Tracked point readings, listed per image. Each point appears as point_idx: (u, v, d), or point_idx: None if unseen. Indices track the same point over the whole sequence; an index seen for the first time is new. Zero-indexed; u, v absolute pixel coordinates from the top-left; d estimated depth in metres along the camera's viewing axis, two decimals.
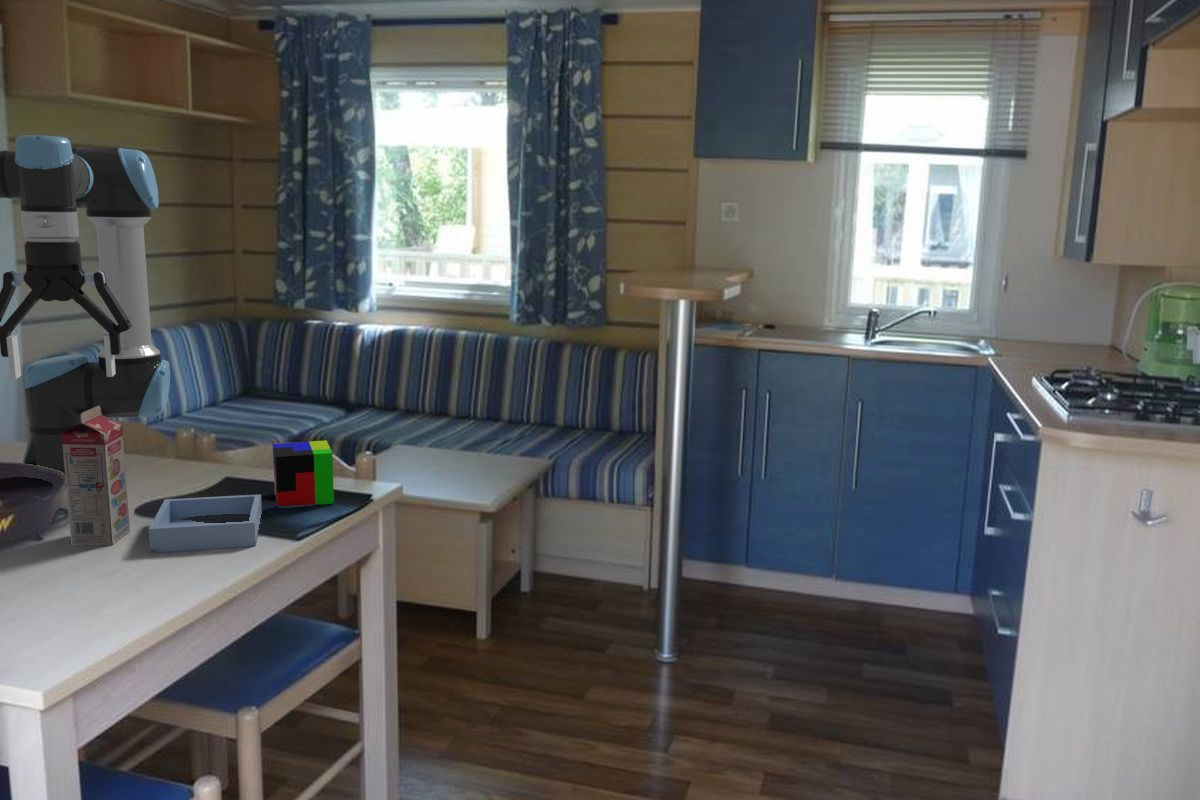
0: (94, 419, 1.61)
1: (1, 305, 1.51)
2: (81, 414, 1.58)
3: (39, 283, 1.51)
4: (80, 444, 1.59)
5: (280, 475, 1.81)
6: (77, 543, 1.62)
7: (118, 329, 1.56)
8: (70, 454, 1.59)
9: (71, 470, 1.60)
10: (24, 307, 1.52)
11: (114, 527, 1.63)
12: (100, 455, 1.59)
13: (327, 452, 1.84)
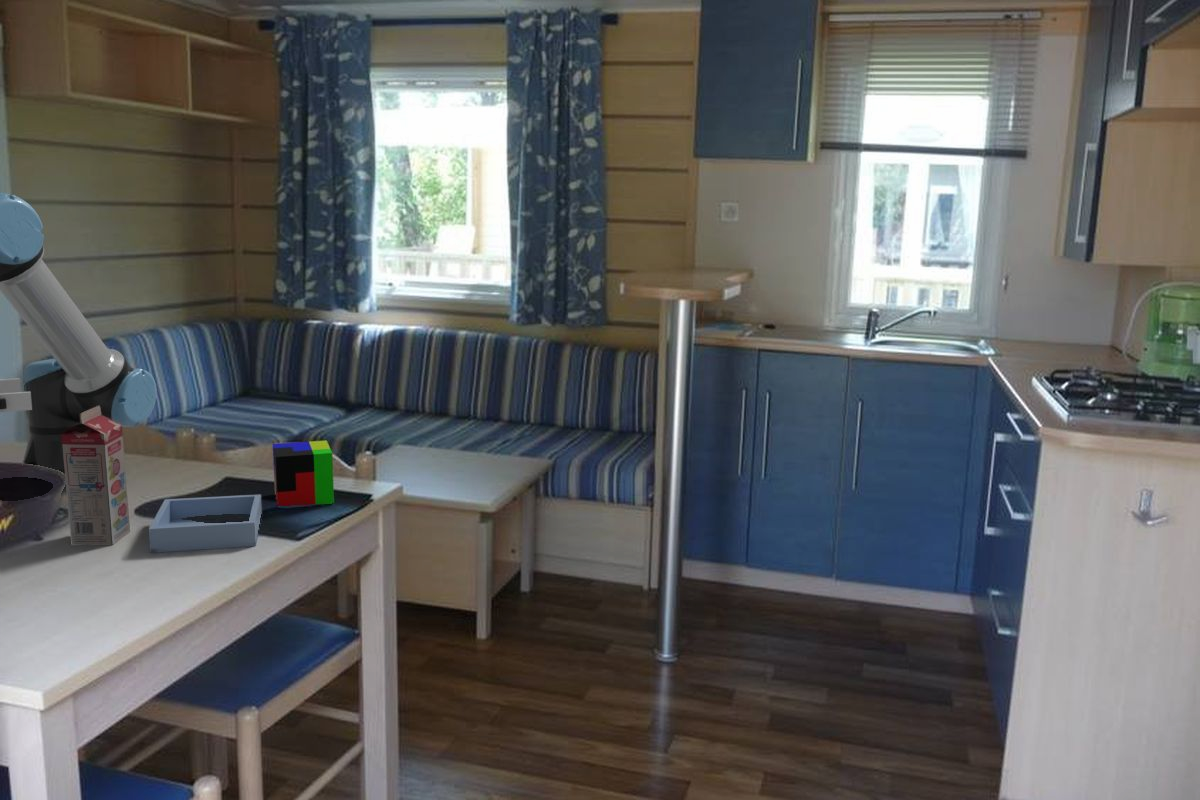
0: (94, 419, 1.61)
1: None
2: (81, 414, 1.58)
3: None
4: (80, 444, 1.59)
5: (280, 475, 1.81)
6: (77, 543, 1.62)
7: None
8: (70, 454, 1.59)
9: (71, 470, 1.60)
10: None
11: (114, 527, 1.63)
12: (100, 455, 1.59)
13: (327, 452, 1.84)
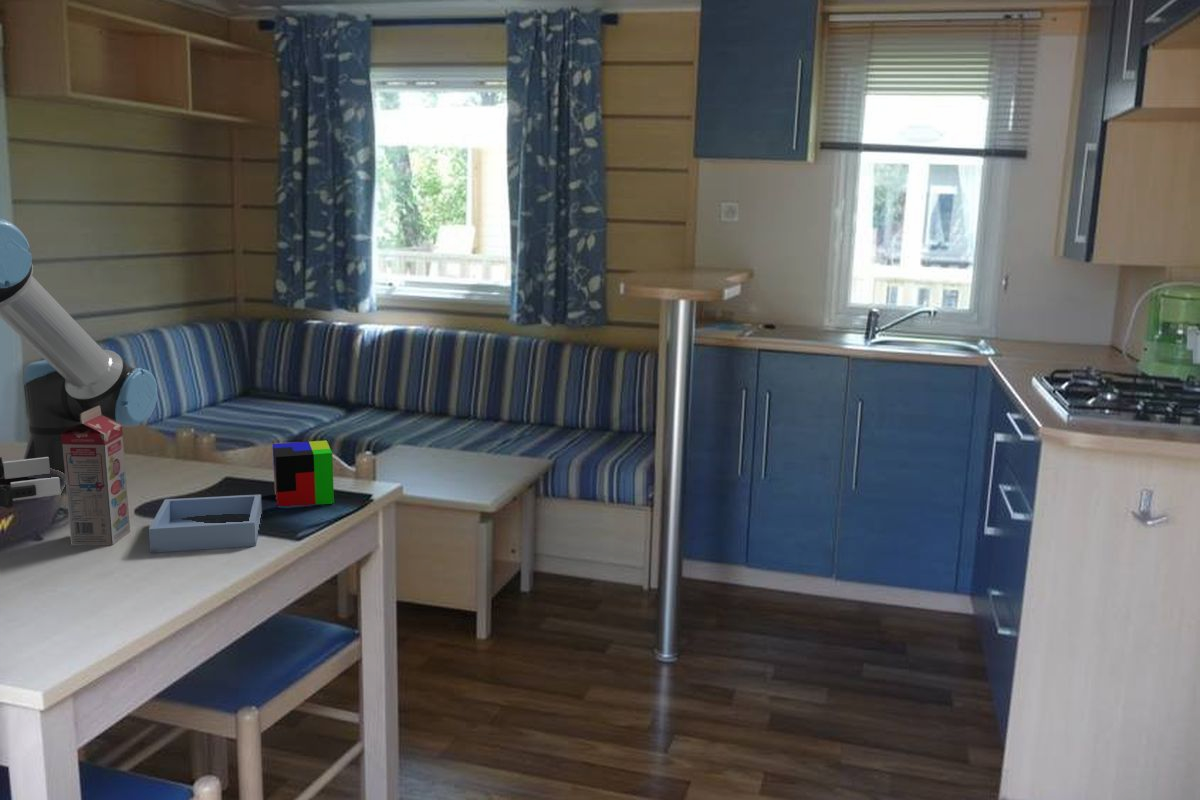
0: (94, 419, 1.61)
1: None
2: (81, 414, 1.58)
3: None
4: (80, 444, 1.59)
5: (280, 475, 1.81)
6: (77, 543, 1.62)
7: None
8: (70, 454, 1.59)
9: (71, 470, 1.60)
10: None
11: (114, 527, 1.63)
12: (100, 455, 1.59)
13: (327, 452, 1.84)
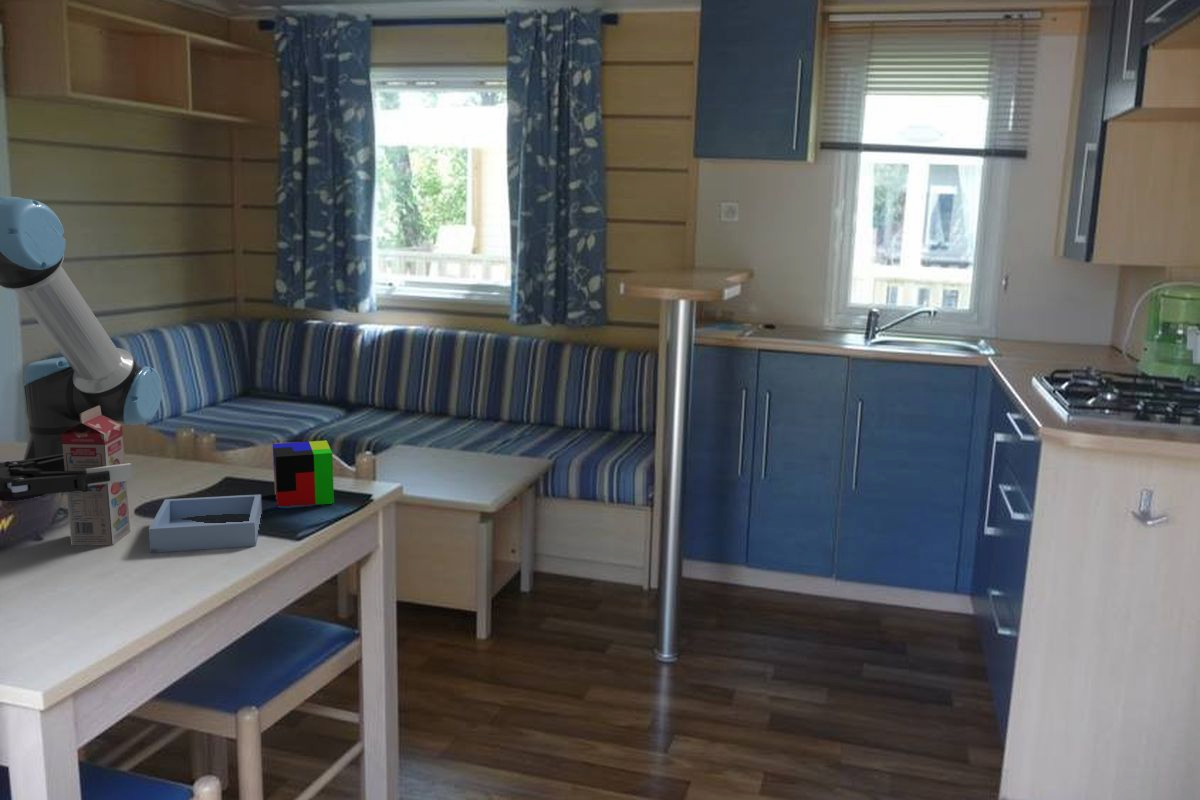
0: (94, 419, 1.61)
1: None
2: (81, 414, 1.58)
3: None
4: (80, 444, 1.59)
5: (280, 475, 1.81)
6: (77, 543, 1.62)
7: None
8: (70, 454, 1.59)
9: (71, 470, 1.60)
10: None
11: (114, 527, 1.63)
12: (100, 455, 1.59)
13: (327, 452, 1.84)
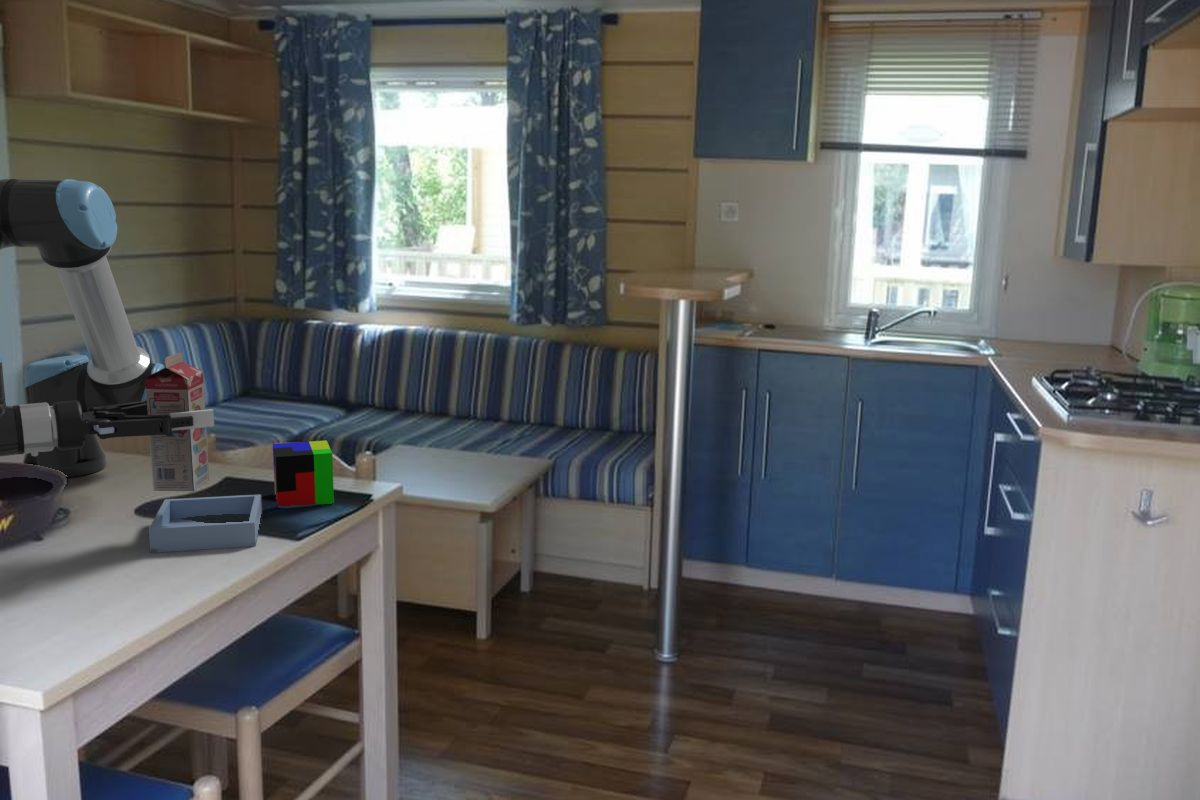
0: (176, 365, 1.61)
1: None
2: (165, 358, 1.58)
3: None
4: (163, 389, 1.59)
5: (280, 475, 1.81)
6: (159, 489, 1.62)
7: None
8: (154, 399, 1.59)
9: None
10: None
11: (195, 474, 1.63)
12: (183, 400, 1.59)
13: (327, 452, 1.84)
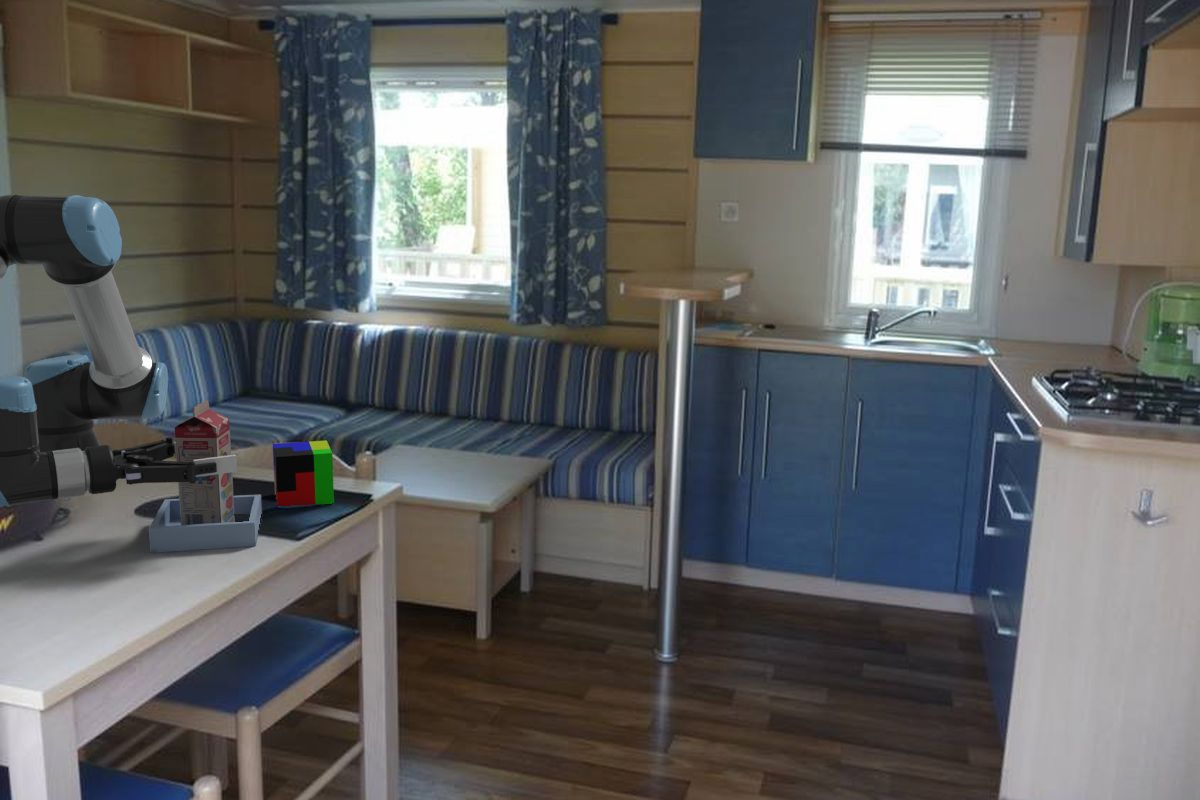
0: (204, 413, 1.65)
1: None
2: (194, 408, 1.61)
3: None
4: (192, 438, 1.62)
5: (280, 475, 1.81)
6: None
7: None
8: (183, 447, 1.62)
9: None
10: None
11: (223, 519, 1.66)
12: (212, 448, 1.63)
13: (327, 452, 1.84)
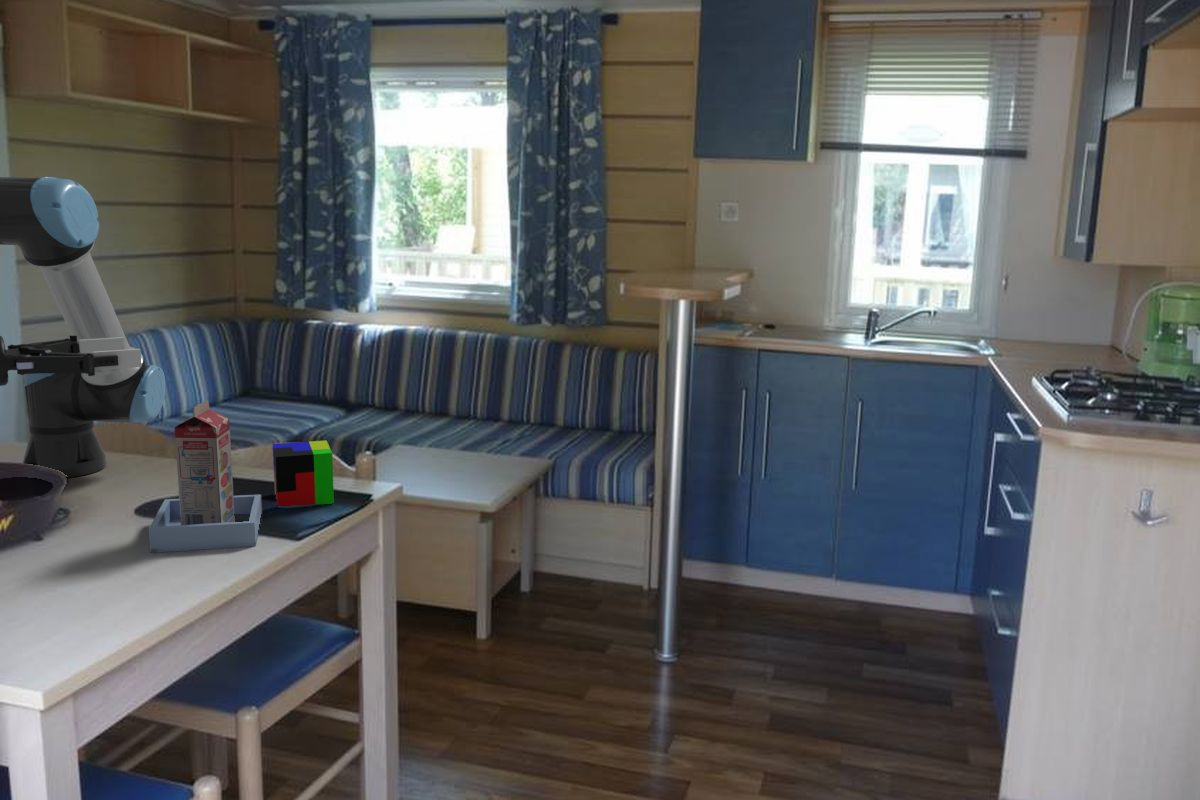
0: (204, 413, 1.65)
1: None
2: (194, 408, 1.61)
3: None
4: (192, 438, 1.62)
5: (280, 475, 1.81)
6: None
7: None
8: (183, 448, 1.62)
9: (183, 463, 1.63)
10: None
11: (223, 519, 1.66)
12: (212, 448, 1.63)
13: (327, 452, 1.84)
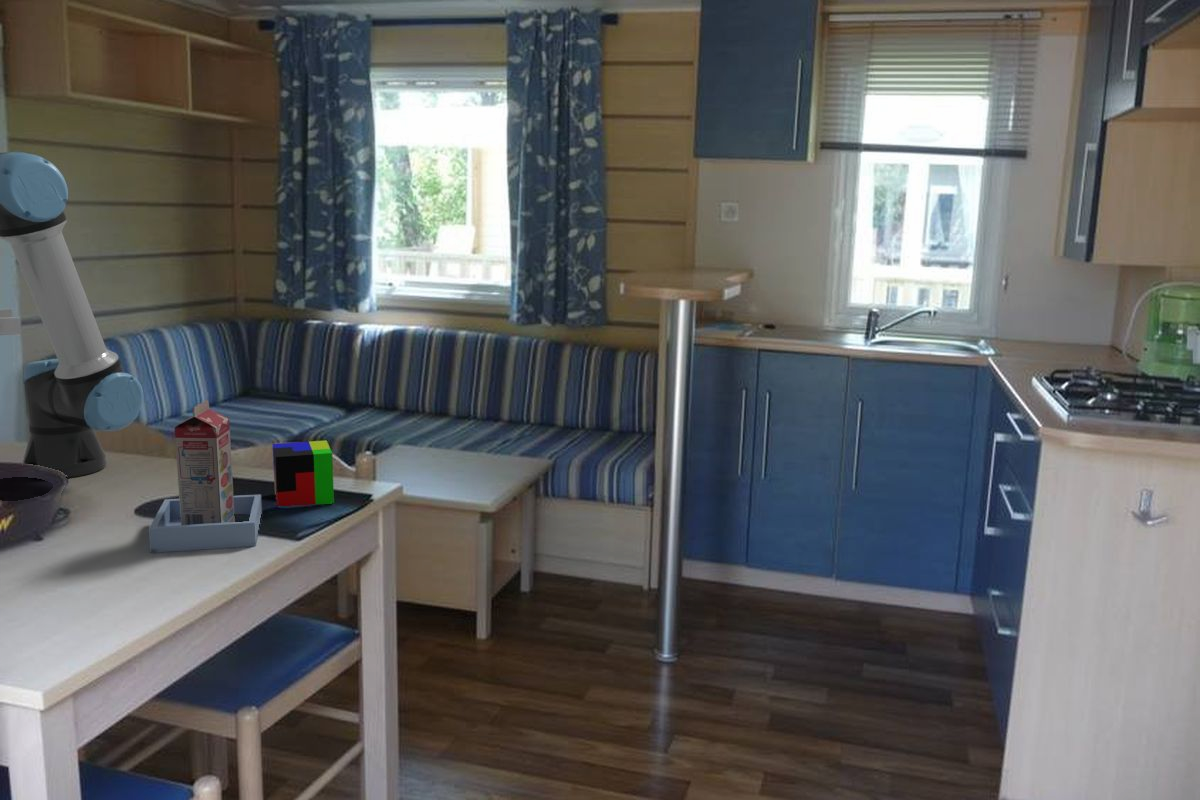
0: (204, 413, 1.65)
1: None
2: (194, 408, 1.61)
3: None
4: (192, 438, 1.62)
5: (280, 475, 1.81)
6: None
7: None
8: (183, 448, 1.62)
9: (183, 463, 1.63)
10: None
11: (223, 519, 1.66)
12: (212, 448, 1.63)
13: (327, 452, 1.84)
